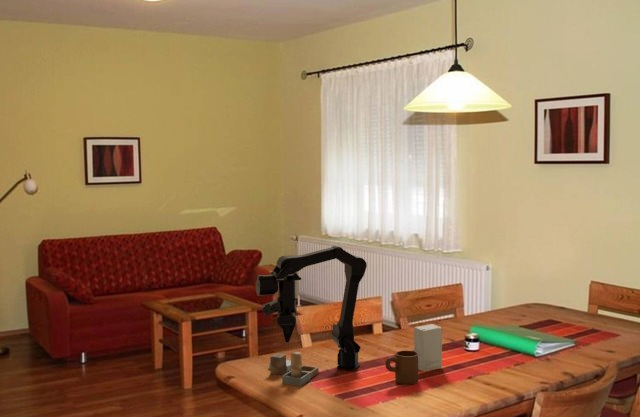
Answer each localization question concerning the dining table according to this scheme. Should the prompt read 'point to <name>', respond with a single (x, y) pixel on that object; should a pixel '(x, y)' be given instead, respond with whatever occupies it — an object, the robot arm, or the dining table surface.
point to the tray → (296, 379)
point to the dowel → (296, 364)
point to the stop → (278, 364)
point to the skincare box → (428, 346)
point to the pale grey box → (288, 365)
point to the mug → (404, 367)
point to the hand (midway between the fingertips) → (287, 338)
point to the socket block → (311, 370)
